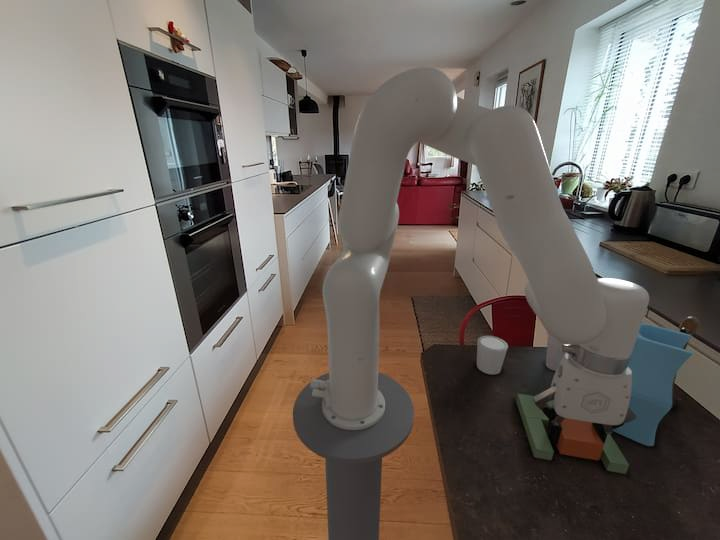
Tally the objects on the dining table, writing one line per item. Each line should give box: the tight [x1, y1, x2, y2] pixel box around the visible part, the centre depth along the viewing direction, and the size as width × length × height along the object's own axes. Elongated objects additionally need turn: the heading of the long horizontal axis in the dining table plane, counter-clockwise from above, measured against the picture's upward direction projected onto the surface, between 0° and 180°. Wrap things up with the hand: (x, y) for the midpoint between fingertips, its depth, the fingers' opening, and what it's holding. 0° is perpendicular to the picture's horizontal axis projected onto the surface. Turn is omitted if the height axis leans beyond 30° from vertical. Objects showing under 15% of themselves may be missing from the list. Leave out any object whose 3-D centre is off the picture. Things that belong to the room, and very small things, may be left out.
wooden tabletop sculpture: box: [671, 316, 701, 409], centre depth 66 cm, size 6×5×20 cm
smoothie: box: [545, 331, 567, 372], centre depth 78 cm, size 6×6×14 cm
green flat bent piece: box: [515, 393, 630, 475], centre depth 61 cm, size 14×14×2 cm
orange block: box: [555, 418, 604, 462], centre depth 57 cm, size 6×6×4 cm
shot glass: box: [476, 335, 509, 376], centre depth 79 cm, size 7×7×7 cm
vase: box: [613, 321, 694, 447], centre depth 60 cm, size 8×8×20 cm
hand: (573, 440), depth 58 cm, fingers closed on orange block, 5 cm apart
